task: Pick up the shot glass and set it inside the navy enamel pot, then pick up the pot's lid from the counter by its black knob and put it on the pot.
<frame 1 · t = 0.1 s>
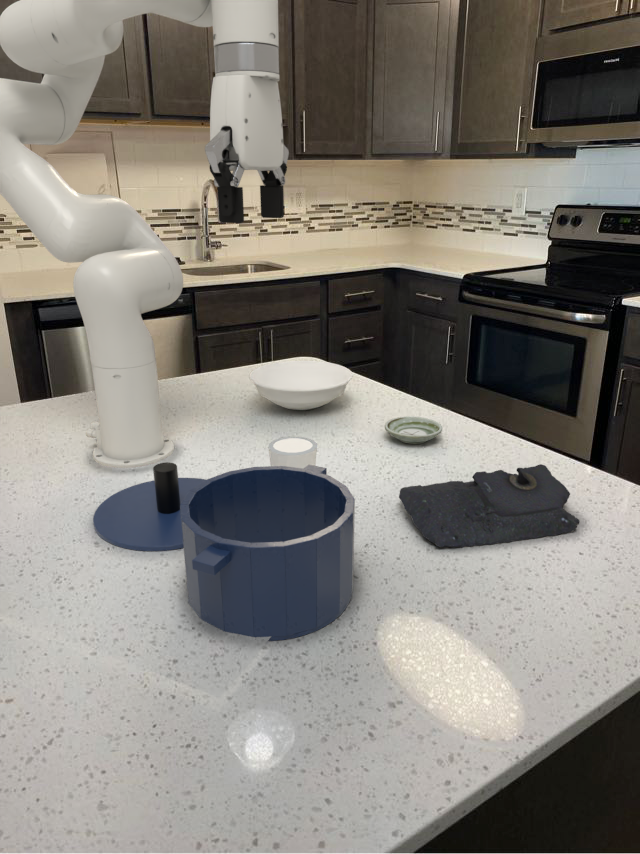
hand: (253, 219, 83), 37 cm above the counter, tool pointing down, fingers open, 9 cm apart
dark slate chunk: (483, 514, 88), on the counter
lid: (169, 512, 87), point 1 cm above the counter
pot: (271, 587, 72), on the counter
bowl: (301, 406, 129), on the counter
saucer: (412, 439, 113), on the counter
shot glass: (293, 491, 95), on the counter
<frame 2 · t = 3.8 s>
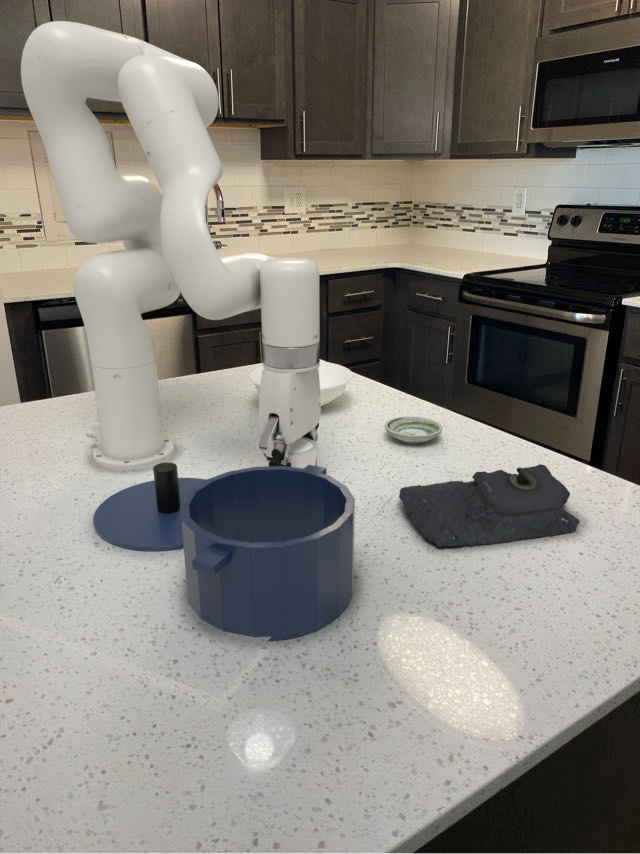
hand: (293, 476, 94), 2 cm above the counter, tool pointing down, fingers closed on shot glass, 6 cm apart
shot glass: (293, 491, 95), on the counter, touching gripper
everything else where it was.
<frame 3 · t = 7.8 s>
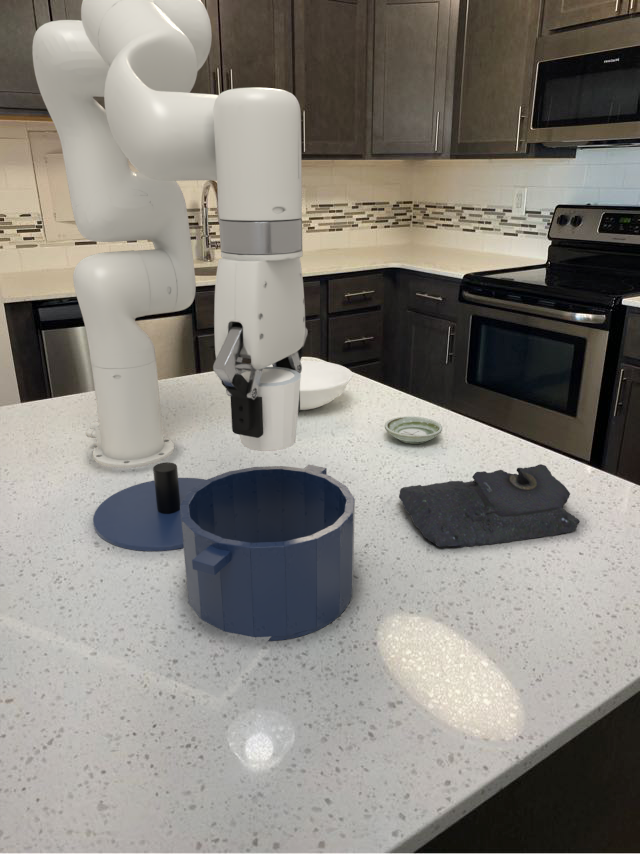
hand: (267, 420, 67), 19 cm above the counter, tool pointing down, fingers closed on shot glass, 6 cm apart
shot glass: (268, 442, 68), point 17 cm above the counter, touching gripper
everything else where it was.
when the fingers open (3 cm above the counter, at t = 12.0 s): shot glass stays where it is, resting on pot.
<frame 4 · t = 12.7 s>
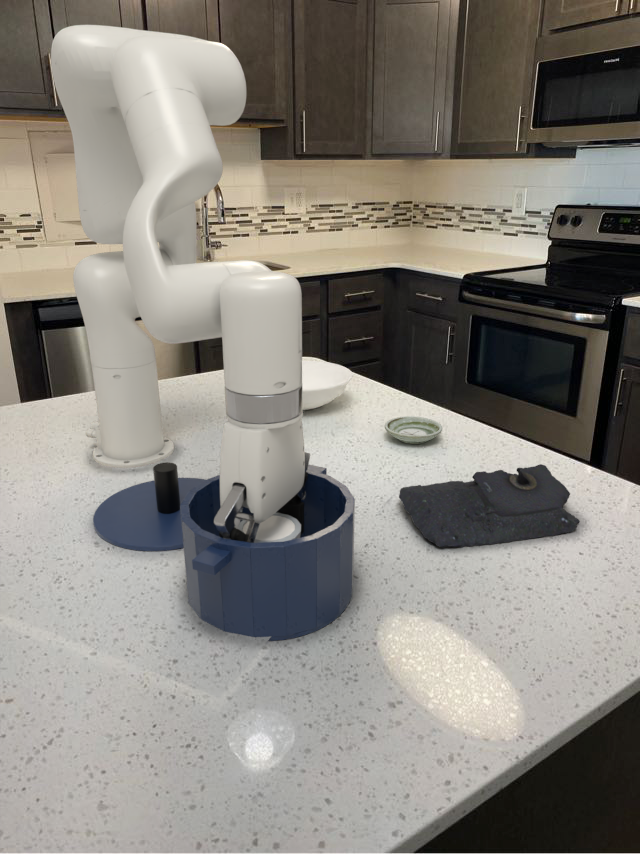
hand: (268, 552, 71), 4 cm above the counter, tool pointing down, fingers open, 9 cm apart
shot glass: (270, 584, 72), resting on pot
everything else where it was.
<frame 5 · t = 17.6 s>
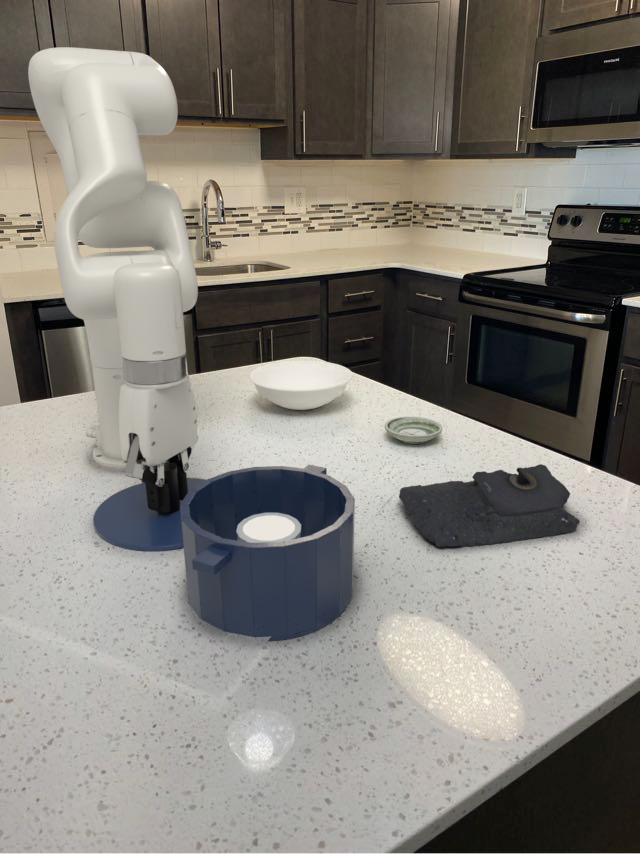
hand: (168, 503, 87), 2 cm above the counter, tool pointing down, fingers closed on lid, 3 cm apart
lid: (169, 512, 87), point 1 cm above the counter, touching gripper
everything else where it was.
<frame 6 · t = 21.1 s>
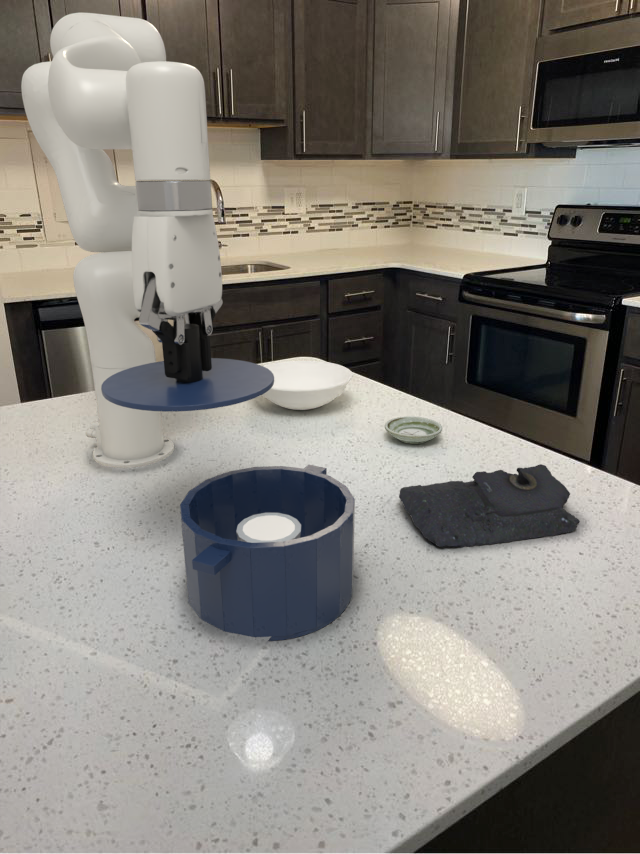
hand: (188, 372, 74), 21 cm above the counter, tool pointing down, fingers closed on lid, 3 cm apart
lid: (189, 384, 75), point 20 cm above the counter, touching gripper
everything else where it was.
when the fingers open (12 cm above the counter, at t = 25.0 s): lid stays where it is, resting on pot.
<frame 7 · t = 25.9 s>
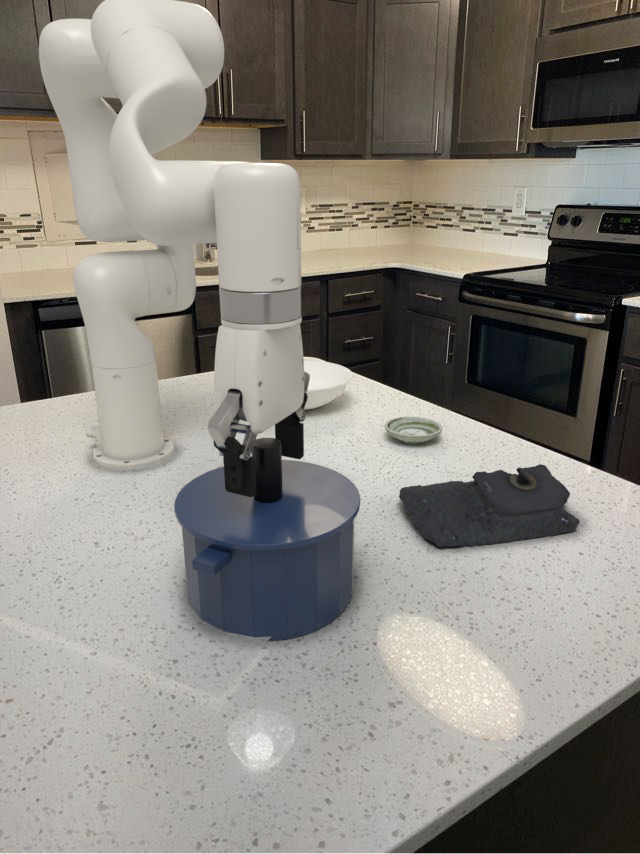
hand: (266, 473, 68), 14 cm above the counter, tool pointing down, fingers open, 9 cm apart
lid: (268, 501, 69), point 10 cm above the counter, touching pot
everything else where it was.
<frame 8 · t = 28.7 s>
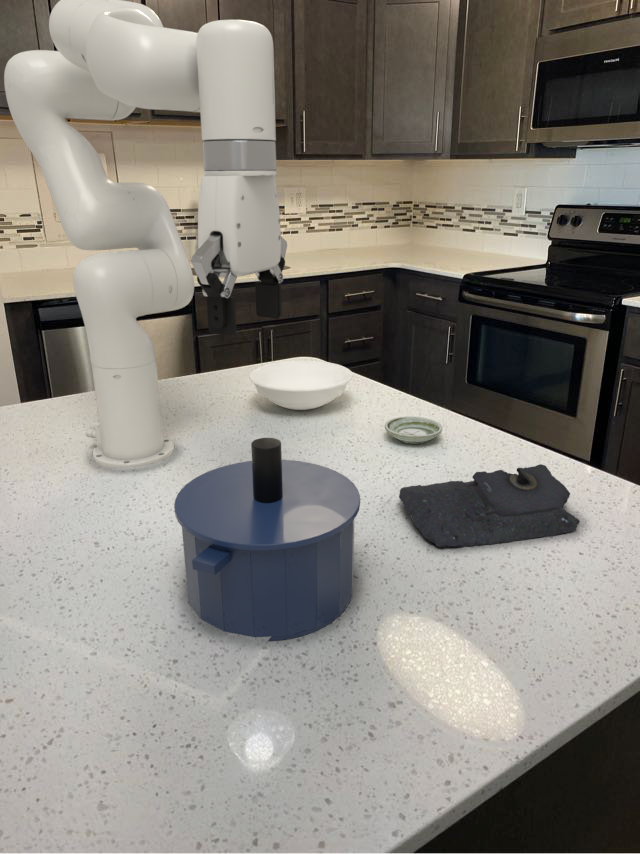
hand: (247, 325, 75), 26 cm above the counter, tool pointing down, fingers open, 9 cm apart
nothing on the counter moved.
at the end: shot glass inside the target area in the pot (0.0 cm from its centre), point 0.3 cm above the pot's base; lid 0.0 cm off-centre on the pot, point 10.5 cm above the pot's base; lid tilted 0° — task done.
